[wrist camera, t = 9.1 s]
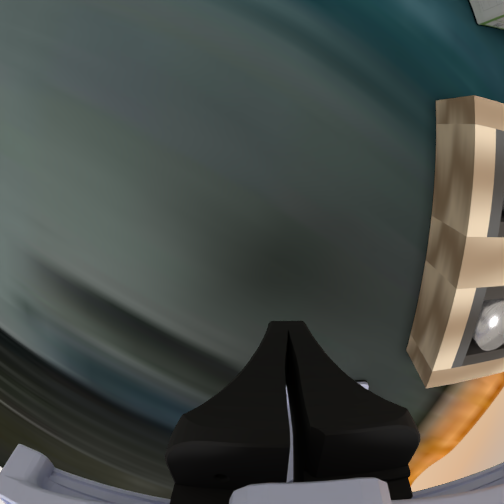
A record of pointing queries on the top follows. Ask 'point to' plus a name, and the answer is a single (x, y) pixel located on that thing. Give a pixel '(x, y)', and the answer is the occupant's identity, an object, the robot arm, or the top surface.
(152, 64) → the top surface
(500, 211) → the maple peg block
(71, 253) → the top surface
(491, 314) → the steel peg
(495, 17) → the ink box
